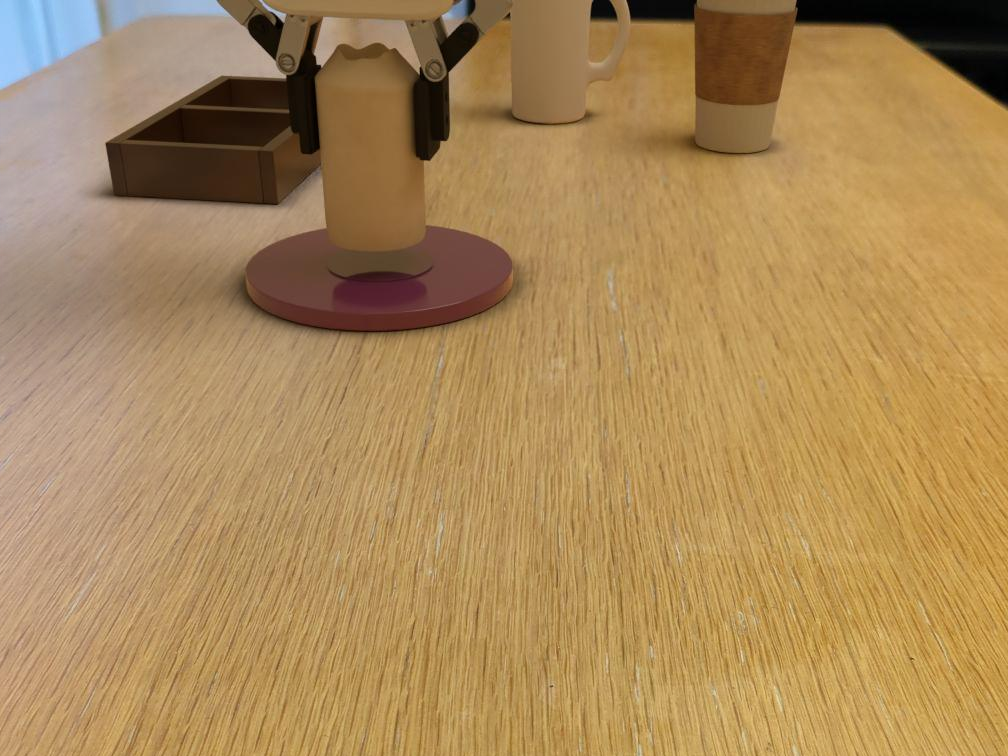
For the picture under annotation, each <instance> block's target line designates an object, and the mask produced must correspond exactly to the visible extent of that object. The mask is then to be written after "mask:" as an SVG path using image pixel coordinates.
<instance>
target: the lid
mask: <svg viewBox="0 0 1008 756" xmlns="http://www.w3.org/2000/svg"><path fill="white" fill-rule="evenodd" d="M244 276H245V285H246V291H247V294H248V296H249V298H250V299H251V300H252V302H253V303H254V304H255V305H256V306H258V307H259V308H260V309H262V310H264V311H265V312H267V313H269V314H272V315H274V316H276V317H278V318H281V319H283V320H287V321H290V322H293V323H297V324H300V325H307V326H311V327H315V328H324V329H331V330H332V329H333V330H339V331H340V330H342V331H358V332H359V331H361V332H382V331H383V332H384V331H401V330H411V329H420V328H426V327H432V326H439V325H443V324H447V323H451V322H455V321H460V320H463V319H466V318H469V317H472V316H474V315H477V314H479V313H482V312H484V311H486V310H488V309H490V308H491V307H494V306H495V305H496V304H498V303H499V302H501V301H502V300H503V299H504V298H505V297H506V296H507V295H508V294H509V292H510V291H511V289H512V287H513V283H514V264H513V260H512V258H511V256H510V254H509V253H508V252H507V251H506V250H505V249H504V248H502V247H501V246H500V245H498V244H497V243H495V242H493V241H491V240H489V239H488V238H484V237H481V236H480V235H477V234H474V233H470V232H467V231H463V230H460V229H454V228H450V227H443V226H437V225H429V224H426V231H425V237H424V239H423V240H422V241H421V242H419V243H418V244H415V245H413V246H410V247H407V248H403V249H398V250H391V251H376V252H373V251H357V250H350V249H346V248H342V247H339V246H336V245H335V244H333V243H331V242H330V241H329V239H328V235H327V229H326V227H325V228H319V229H313V230H310V231H306V232H302V233H298V234H294V235H290V236H288V237H285V238H283V239H280V240H277V241H275V242H273V243H270V244H268V245H266V246H265V247H263V248H262V249H260V250H258V251H257V252H255V254H254V255H253V256H252V257H251V258H250V259H249V260H248V262H247V263H246V267H245V269H244Z"/></svg>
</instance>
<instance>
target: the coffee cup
mask: <svg viewBox="0 0 1008 756" xmlns="http://www.w3.org/2000/svg"><path fill="white" fill-rule="evenodd" d="M796 5H797V0H696V3H695V4H694V5H693V9H694V10H693V12H694V15H693V16H694V95H695V113H694V115H695V119H694V121H695V122H694V123H695V125H694V137H695V138H694V141H695V144H696V145H697V146H698V147H700V148H703V149H704V150H705V149H706V150H709V151H712V152H719V153H726V154H727V153H728V154H750V153H758V152H762V151H765V150H767V149H768V148H769V147H770V145H771V142H772V136H773V130H774V125H775V119H776V113H777V109H778V103H779V99H780V95H781V91H782V85H783V82H784V77H785V72H786V68H787V61H788V57H789V52H790V49H791V43H792V38H793V33H794V28H795V24H796V18H797V15H798V7H796Z"/></svg>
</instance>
